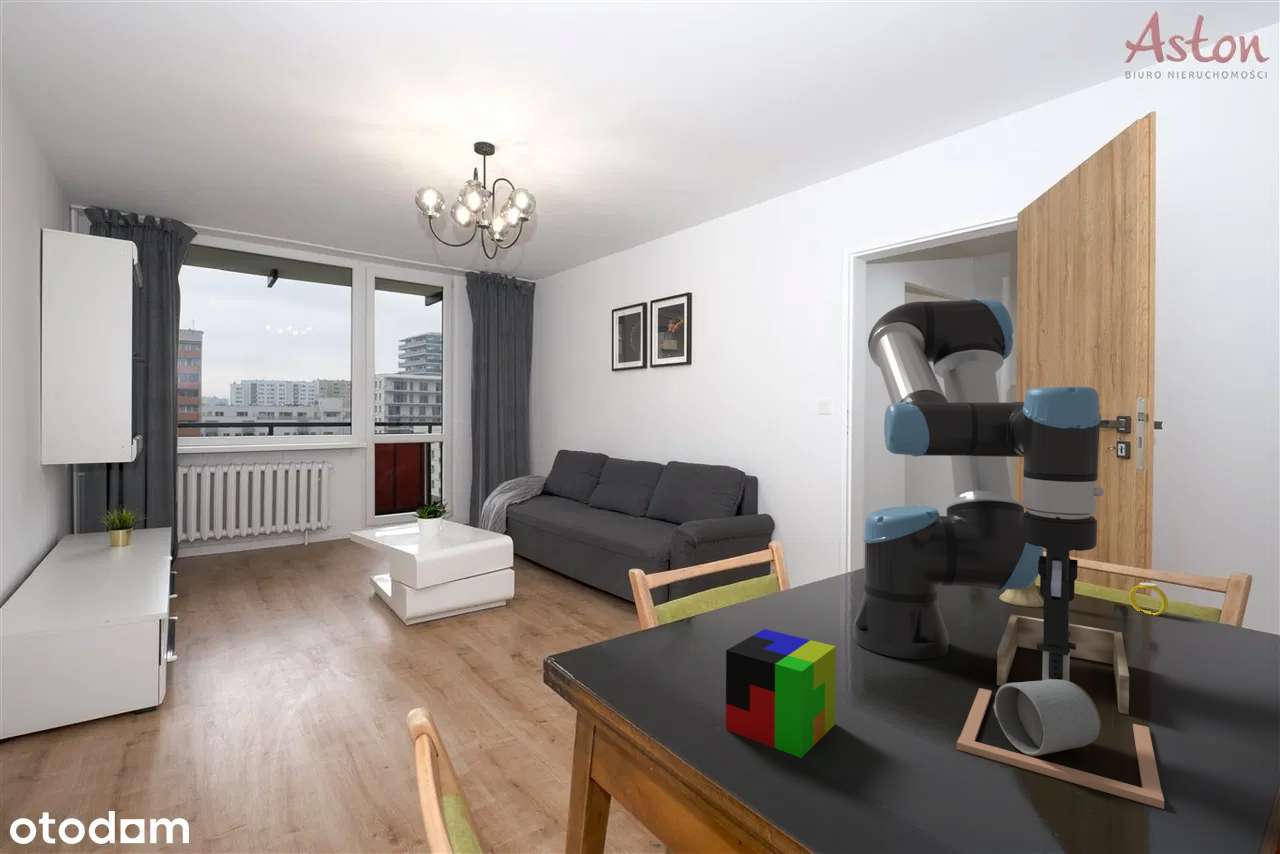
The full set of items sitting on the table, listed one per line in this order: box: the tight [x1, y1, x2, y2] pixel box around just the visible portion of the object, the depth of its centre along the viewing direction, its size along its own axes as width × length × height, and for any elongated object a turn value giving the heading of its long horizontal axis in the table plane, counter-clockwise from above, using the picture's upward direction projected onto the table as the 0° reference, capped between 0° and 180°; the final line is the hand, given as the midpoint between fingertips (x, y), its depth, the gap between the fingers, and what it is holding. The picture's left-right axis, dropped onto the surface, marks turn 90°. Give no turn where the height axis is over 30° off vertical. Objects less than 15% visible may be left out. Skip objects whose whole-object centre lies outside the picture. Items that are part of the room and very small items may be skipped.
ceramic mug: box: [993, 679, 1102, 757], centre depth 73 cm, size 11×8×8 cm
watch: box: [1128, 582, 1169, 616], centre depth 122 cm, size 6×3×6 cm, turn 26°
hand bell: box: [998, 581, 1044, 608], centre depth 129 cm, size 8×8×16 cm
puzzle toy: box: [725, 628, 837, 759], centre depth 77 cm, size 10×10×10 cm
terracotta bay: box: [956, 687, 1165, 810], centre depth 74 cm, size 18×19×1 cm
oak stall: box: [996, 614, 1130, 715], centre depth 93 cm, size 15×20×5 cm
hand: (1055, 701), depth 76 cm, fingers closed
